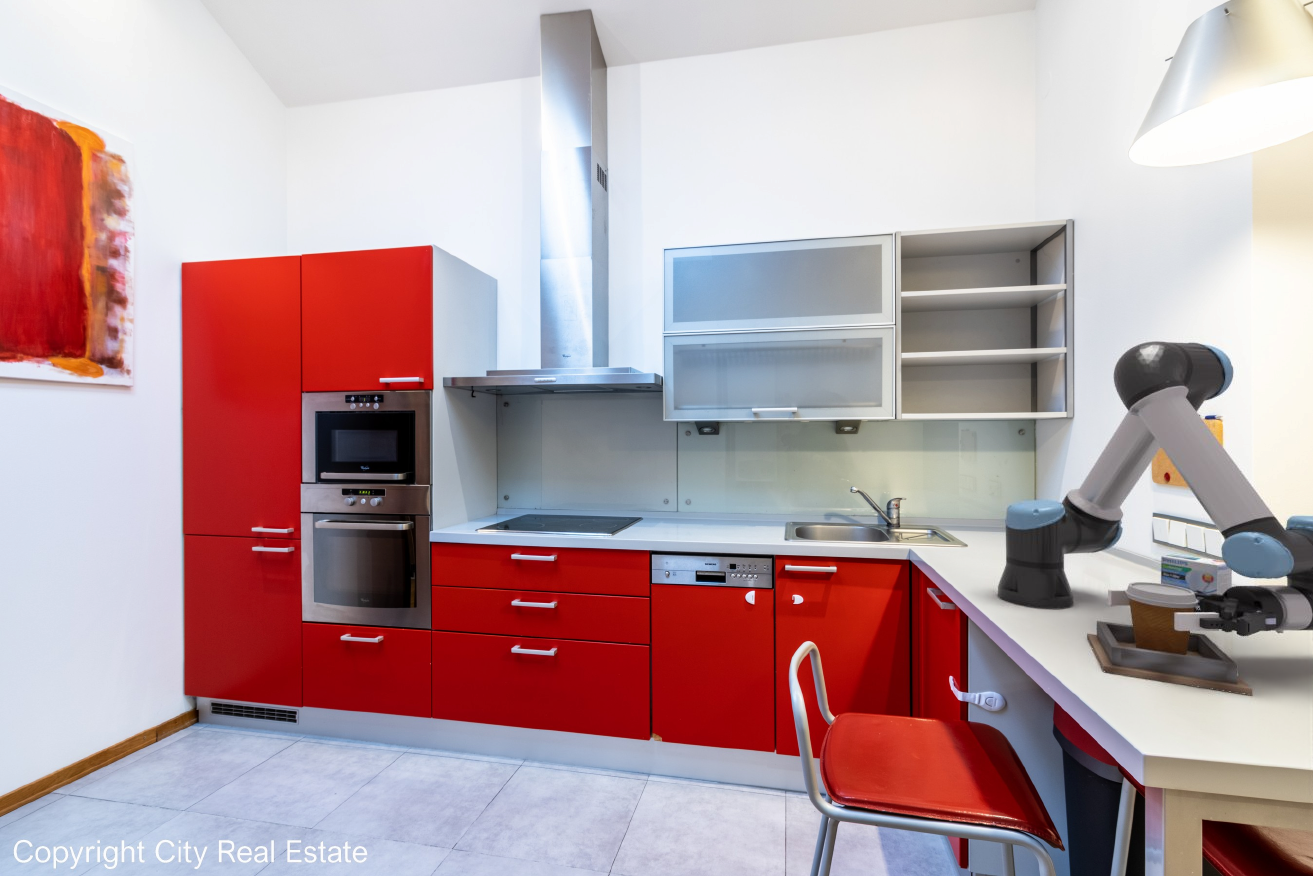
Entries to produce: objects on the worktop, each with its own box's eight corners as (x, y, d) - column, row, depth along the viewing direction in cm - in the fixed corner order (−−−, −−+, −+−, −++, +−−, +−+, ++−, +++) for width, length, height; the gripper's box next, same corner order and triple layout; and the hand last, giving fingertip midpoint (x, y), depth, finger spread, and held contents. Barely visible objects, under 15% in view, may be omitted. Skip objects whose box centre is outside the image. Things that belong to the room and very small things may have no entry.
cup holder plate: (1103, 671, 96) (1103, 648, 96) (1087, 638, 112) (1087, 617, 112) (1252, 695, 87) (1252, 669, 87) (1211, 655, 103) (1211, 633, 103)
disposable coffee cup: (1126, 660, 99) (1126, 590, 99) (1123, 643, 106) (1123, 578, 106) (1202, 673, 93) (1202, 599, 93) (1193, 655, 101) (1193, 586, 101)
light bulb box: (1159, 600, 137) (1159, 555, 137) (1174, 597, 140) (1174, 552, 140) (1218, 613, 127) (1218, 564, 127) (1233, 609, 130) (1233, 561, 130)
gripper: (1350, 657, 87) (1210, 658, 87) (1195, 608, 112) (1086, 608, 112) (1350, 608, 87) (1210, 609, 87) (1195, 569, 112) (1086, 570, 112)
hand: (1140, 608), depth 100 cm, fingers open, 13 cm apart
